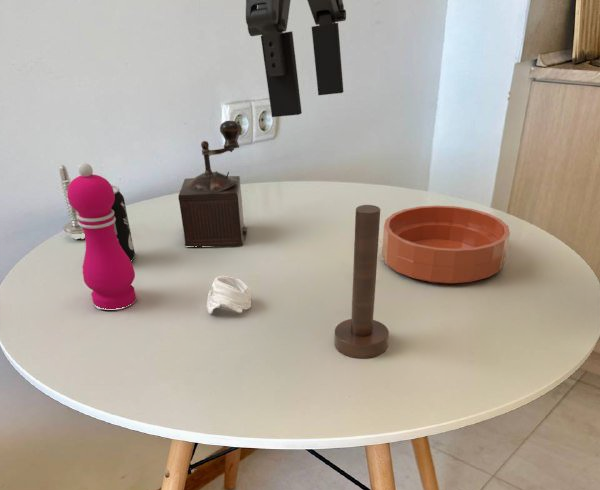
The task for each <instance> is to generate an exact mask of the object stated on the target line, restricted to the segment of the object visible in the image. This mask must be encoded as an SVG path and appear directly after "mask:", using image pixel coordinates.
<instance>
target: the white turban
mask: <svg viewBox="0 0 600 490" xmlns="http://www.w3.org/2000/svg"><path fill="white" fill-rule="evenodd" d="M211 287H212V288H211V289H210V290H209V291H208V294H207V302H206V309H207V312H208V314H210V315H213V313H214V310H215V309H216V308H217V309H218V308H220V307H225V308H229V309H230V310H233V311H235V312H237V313H240V314H241V313H242V312H243V310H249V309H250V308H251V307H252V299H251V296H252V292H251V290H250V289H249V286H248V285H247V284H246V283H245V282H244V281H242V280H241V279H239V278H237V277H232V276H229V275H218V276H216V277H215V278H214V279H213V283H212V284H211Z"/></svg>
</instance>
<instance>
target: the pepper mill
mask: <svg viewBox="0 0 600 490" xmlns="http://www.w3.org/2000/svg"><path fill="white" fill-rule="evenodd" d="M77 171H78V174H79V176H77V177H75V178H73V179H72V180H70V181H71V183H70V184H69V186H68V193H67V195H68V200H69V203H70V205H71V206H72V208H73V209H75V210H76V211H77V212H78V214H77V216H76V217H77V219H78V225H79V226H81V227H82V228H83V231H84V234H85V239H84V240H85V251H84V258H83V263H82V277H83V281H84V284H85V286H87V288H89V289H90V290H92V291H91V300H92V304H93V303H94V304H95V305H96V306H98V307H100V308H104V309H105V308H106V309H116V308H122V307H126V306H128V305H130V304H132V303H133V302H134V301H135V300H136V301H137V295H136V290H135V287H134V286H133V282H134V280H135V277H136V276H135V275H136V273H135V269H134V265H133V263H132V261H130V259H129V257H128V256H127V255H126V253H125V252H124V250H123V249H122V247H121V245H120V244H119V242H118V240H117V237H116V234H115V231H114V222H115V221H116V218H115V217H114V210H112V209H111V207H112V205H113V203H114V200H115V195H114V191H113V188H112V186H111V185H112V184H111V183H110V182H109V180H107V178H105V177H103V176H101V175H98V174H93V172H94V171H93V167H92V165H90V164H89V163H86V162H82V163H81V164H79V166H78V169H77ZM136 301H135V302H136ZM135 302H134V303H135ZM134 303H133V304H134ZM94 304H93V305H94ZM133 304H132V305H133Z"/></svg>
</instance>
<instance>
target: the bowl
mask: <svg viewBox="0 0 600 490" xmlns="http://www.w3.org/2000/svg"><path fill="white" fill-rule="evenodd" d="M509 227H510V226H509V224H508V225H507V223H506V222H505V221H503V220H502V218H499V217H497V216H495V215H492V214H491V213H488V212H484V211H481V210H478V209H474V208H470V207H469V208H468V207H463V206H455V205H422V206H415V207H409V208H405V209H402V210H399V211H396V212H394V213H391V215H390V216H388V217H387V218H386V219H385V220H384V225H383V235H382V236H383V237H382V248H381V249H382V251H381V258H382V259H383V261H384V263H385V265H387V266H388V267H390V268H391V269H392V270H394V271H395V272H397V273H399V274H402V275H404V276H407V277H409V278H412V279H415V280H418V281H422V282H427V283H436V284H464V283H471V282H476V281H479V280H484V279H488V278H489V277H492V276H494V275H495V274H497V273H499V272H500V270H501V269H502V268H503V266H504V265H505V261H506V255H507V251H508V246H509V241H510V236H511V232H510V228H509Z"/></svg>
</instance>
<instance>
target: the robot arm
mask: <svg viewBox="0 0 600 490" xmlns="http://www.w3.org/2000/svg"><path fill="white" fill-rule="evenodd" d="M306 1H307V4H308V6H309V9H310V10H309V11H310V12H311V16H312V18H313V21H314V24H315V25H313V26H311V36H312V46H313V54H314V55H313V56H314V65H315V76H316V86H317V96H325V95H326V96H327V95H336V94H343V93H344V79H343V68H342V56H341V55H342V54H341V43H340V42H341V41H340V30H339V29H340V28H339V22H345V21H346V20H347V10H346V9H345V5H344V1H343V0H306ZM290 7H291V0H245V22H246V25H247V31H248V34H249V36H250V37H257V36H260V40H261V41H260V42H261V48H262V56H263V64H264V70H265V77H266V84H267V93H268V97H269V98H268V99H269V106H270V112H271V117H272V118H279V117H289V116H299V115H302V112H303V111H302V103H301V96H300V95H301V94H300V86H299V77H298V69H297V61H296V60H297V59H296V52H295V42H294V34H293V30H292V31H291V30H290V31H287V29H288V24H289V23H288V22H289V15H290Z"/></svg>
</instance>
